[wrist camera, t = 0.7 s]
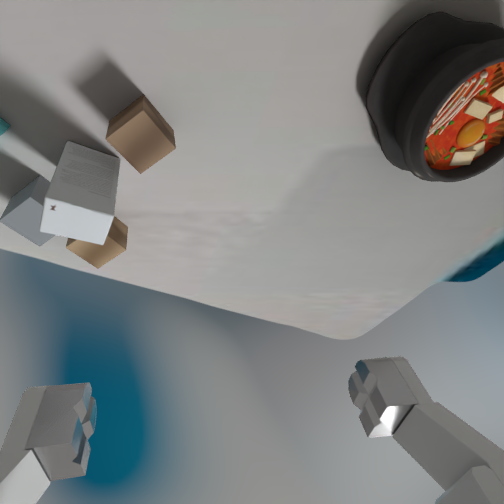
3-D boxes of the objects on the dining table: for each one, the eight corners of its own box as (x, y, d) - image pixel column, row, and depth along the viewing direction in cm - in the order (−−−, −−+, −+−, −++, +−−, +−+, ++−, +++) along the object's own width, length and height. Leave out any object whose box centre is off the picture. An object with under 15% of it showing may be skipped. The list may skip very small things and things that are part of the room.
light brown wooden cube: (72, 223, 46) (65, 247, 42) (99, 203, 45) (95, 226, 41) (101, 244, 49) (97, 268, 46) (127, 226, 48) (126, 249, 45)
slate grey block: (12, 197, 42) (-2, 220, 38) (40, 174, 41) (30, 196, 37) (48, 222, 45) (39, 246, 42) (76, 201, 44) (69, 225, 40)
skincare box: (60, 170, 41) (36, 231, 32) (67, 139, 39) (43, 195, 30) (113, 186, 44) (103, 247, 35) (122, 158, 42) (114, 215, 33)
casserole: (327, 116, 44) (356, 144, 38) (445, -43, 35) (507, -39, 29) (432, 191, 57) (466, 221, 50) (537, 88, 48) (594, 110, 42)
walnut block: (109, 120, 38) (105, 139, 35) (143, 94, 37) (143, 110, 34) (141, 153, 42) (140, 173, 38) (173, 130, 41) (175, 148, 37)
